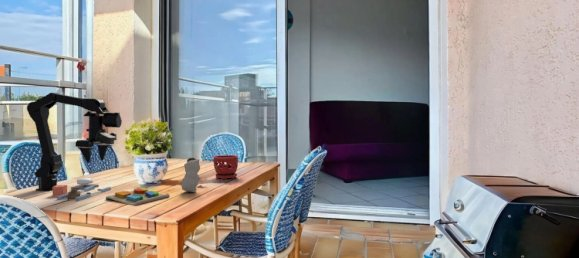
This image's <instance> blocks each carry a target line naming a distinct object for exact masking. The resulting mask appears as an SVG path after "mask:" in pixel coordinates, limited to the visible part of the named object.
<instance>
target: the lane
mask: <svg viewBox="0 0 579 258" xmlns="http://www.w3.org/2000/svg"><path fill="white" fill-rule="evenodd" d="M95 188H96V187H95V186H91V187H87V188H80V190H77V191H80V194H83V193H85V194H83V195H80V196H79V197H76V198H75V199H74V201H76V202H77V201H81V200H85V199H87V198H91V197H94V196H96V195H99V194H103V193H106V192H109V191H111V190H112V188H111V186H107V187H103V188H98V189H97V190H95ZM92 190H93V191H92ZM91 191H92V192H91ZM64 198H65V199H68V193H67V194H64V195H61V196H56V200H58V201H61V199H62V200H64Z"/></svg>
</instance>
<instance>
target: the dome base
mask: <svg viewBox="0 0 579 258" xmlns="http://www.w3.org/2000/svg"><path fill="white" fill-rule="evenodd" d="M91 186H95V188H99V187H100V185H99V184H93V183H91V184H86V185H83V184H77V185H74V186H71V187H70V190H72V189H76V190H77V191H78V190H80V188H87V187H91Z"/></svg>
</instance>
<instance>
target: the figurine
mask: <svg viewBox="0 0 579 258" xmlns="http://www.w3.org/2000/svg"><path fill="white" fill-rule="evenodd" d="M183 165H184V167H183V168H184V171H185V174H184V177H183V178H182V180H181V183H180V184H181V186H180V187H181V189H182V191H184V192H188V193H196V192H197V187H198V185H199V181H200V179H201V178H200V175H199V174H198V173H199V172H200V170H201V165H200V159H197V158H195V157H190V158H188V159H187V160H186V162H185V163H184V164H183Z"/></svg>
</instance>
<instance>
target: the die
mask: <svg viewBox="0 0 579 258" xmlns="http://www.w3.org/2000/svg"><path fill="white" fill-rule="evenodd" d="M52 189H53V190H52V197H58V196H61V195H64V194H68V185H67V184H57V185H56V186H54V187H52Z"/></svg>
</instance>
